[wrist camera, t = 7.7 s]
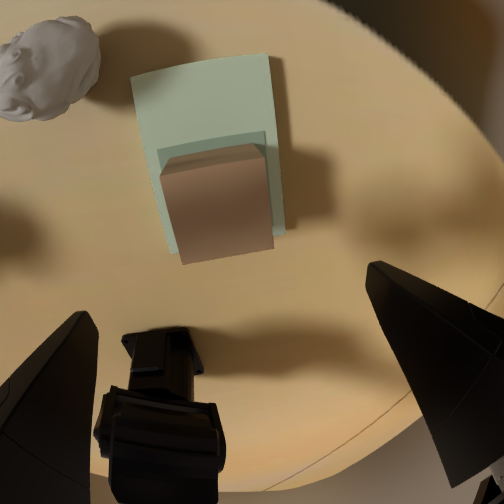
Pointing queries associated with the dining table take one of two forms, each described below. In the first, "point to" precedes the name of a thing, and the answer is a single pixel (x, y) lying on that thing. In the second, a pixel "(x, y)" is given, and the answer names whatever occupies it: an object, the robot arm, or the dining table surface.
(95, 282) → the dining table surface
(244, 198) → the walnut block
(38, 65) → the grey lumpy rounded piece
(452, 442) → the robot arm
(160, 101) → the base board
